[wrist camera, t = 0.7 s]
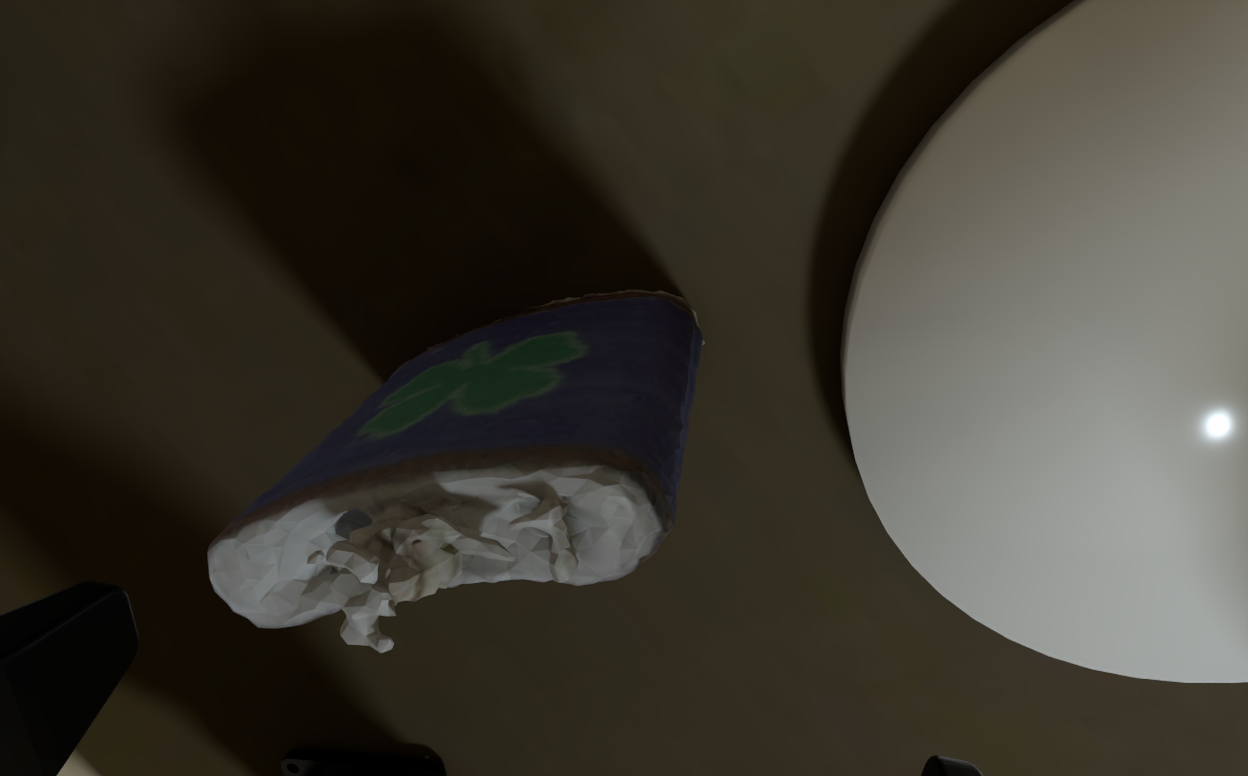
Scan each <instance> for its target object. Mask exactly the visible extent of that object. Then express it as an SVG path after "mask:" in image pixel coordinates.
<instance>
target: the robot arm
mask: <svg viewBox="0 0 1248 776" xmlns="http://www.w3.org/2000/svg"><path fill="white" fill-rule="evenodd" d="M138 646H139V636H138V632H137V628H136V624H135V621H134V617H133V613H132V609H131V605H130V601H129V597H128V595H127V593H126V591H125V590H124V589H123V588H122V587H119V586H116V585H111V584H106V583H102V582H97V581H85V582H81V583H78V584H75V585H73V586H70V587H68V588H66V589H63V590H61V591H58V592H56V593H53V594H51V595H48V596H46V597H43V598H41V599H39V600H36V601H34V602H31V603H29V604H26V605H24V606H21V607H19V608H16V609H14V610H12V611H9V612H7V613H4V614H2V615H0V776H56V775H57V774H58V773H59V771H60V770H61V768H62V767H63V766H64V764H65V763H66V761H67V760H68V758H69V757H70V755H71V754H72V752H73V751H74V749H75V748H76V746H77V745H78V743H79V742H80V740H81V739H82V737H83V736H84V734H85V733H86V731H87V730H88V728H89V727H90V725H91V724H92V722H93V720H94V719H95V717H96V716H97V714H98V713H99V711H100V710H101V708H102V707H103V705H104V704H105V702H106V701H107V699H108V698H109V696H110V695H111V693H112V692H113V690H114V689H115V687H116V686H117V684H118V683H119V681H120V680H121V678H122V677H123V675H124V674H125V672H126V671H127V669H128V668H129V666H130V665H131V663H132V662H133V660H134V658H135V655H136V653H137V650H138ZM281 769H282V771H283V774H284V776H446V772H445V770H444V768H443V767H442V766H441V765H440V764H438V763H436V762H434V761H427V760H414V759H401V758H389V757H376V756H364V755H351V754H338V753H326V752H313V751H300V750H291V751H289V752H288V753H287V754H286V756H285V757H284V759H283V760H282V762H281ZM921 776H983V775H982V773H981V772H980V771H979V770H978V768H976V767H975V766H974V765H973V764H971V763H969V762H967V761H962V760H958V759H953V758H948V757H943V756H938V755H936V756H932V757H930V758H929V759H928V761H927V762H926V764H925V766H924V769H923V771H922V774H921Z"/></svg>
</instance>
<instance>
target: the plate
mask: <svg viewBox="0 0 1248 776" xmlns="http://www.w3.org/2000/svg"><path fill="white" fill-rule="evenodd" d="M840 367H841V391H842V399H843V404H844V410H845V415H846V420H847V425H848V430H849V435H850V439H851V444H852V448H853V452H854V456H855V461H856V463H857V466H858V469H859V472H860V475H861V477H862V480H863V483H864V486H865V489H866V491H867V494H868V497H869V499H870V501H871V503H872V505H873V507H874V509H875V511H876V512H877V514H878V516H879V518H880V520H881V522H882V523H883V525H884V527H885V529H886V531H887V533H888V534H889V536H890V537H891V538H892V540H893V541H894V542H895V544H896V545H897V546H898V548H899V549H900V550H901V552H902V553H903V554H904V556H905V557H906V558H907V560H908V561H909V562H910V564H911V565H912V566H913V567H914V568H915V569H916V570H917V571H918V572H919V573H920V574H921V575H922V576H923V577H924V578H925V579H926V580H927V581H928V582H929V583H930V584H931V585H932V586H933V587H934V588H935V589H936V590H937V591H938V592H939V593H940V594H941V595H943V596H944V597H945V598H947V599H948V600H949V601H951V602H952V603H953V604H955V605H956V606H957V607H959V608H960V609H961V610H962V611H964V612H965V613H966V614H968V615H969V616H970V617H972V618H973V619H975V620H977V621H978V622H980V623H982V624H984V625H985V626H987V627H989V628H991V629H992V630H994V631H996V632H998V633H999V634H1001V635H1003V636H1004V637H1006V638H1008V639H1010V640H1012V641H1015V642H1017V643H1019V644H1022V645H1024V646H1026V647H1029V648H1031V649H1033V650H1036V651H1038V652H1040V653H1043V654H1045V655H1047V656H1050V657H1053V658H1057V659H1060V660H1063V661H1067V662H1070V663H1073V664H1076V665H1080V666H1083V667H1086V668H1090V669H1094V670H1099V671H1104V672H1109V673H1114V674H1120V675H1125V676H1130V677H1135V678H1143V679H1154V680H1164V681H1174V682H1185V683H1239V682H1248V0H1074V1H1072V2H1071V3H1069V4H1068V5H1067V6H1065V7H1064V8H1062V9H1061V10H1060V11H1058V12H1057V13H1055V14H1054V15H1053V16H1051V17H1050V18H1048V19H1047V20H1046V21H1044V22H1043V23H1041V24H1040V25H1039V26H1037V27H1036V28H1034V29H1033V30H1031V31H1030V32H1029V33H1027V34H1026V35H1024V36H1023V37H1022V38H1020V39H1019V40H1018V41H1017V42H1016V43H1014V44H1013V45H1012V46H1011V47H1010V48H1009V49H1008V50H1007V51H1005V52H1004V53H1003V54H1002V55H1001V56H1000V57H999V58H998V59H997V60H995V61H994V62H993V63H992V64H991V65H990V66H989V67H988V68H986V69H985V70H984V71H983V72H982V73H981V74H980V75H979V76H977V77H976V78H975V79H974V80H973V81H972V82H971V83H970V84H969V85H968V86H967V87H966V89H965V90H964V91H963V92H962V93H961V94H960V95H959V96H958V97H957V99H956V100H955V101H954V102H953V103H952V104H951V105H950V106H949V107H948V109H947V110H946V111H945V112H944V113H943V114H942V115H941V116H940V117H939V119H938V120H937V121H936V122H935V123H934V124H933V125H932V126H931V128H930V129H929V131H928V132H927V133H926V135H925V136H924V138H923V139H922V140H921V142H920V143H919V145H918V146H917V148H916V149H915V150H914V152H913V153H912V155H911V156H910V157H909V159H908V160H907V162H906V163H905V164H904V166H903V167H902V169H901V170H900V171H899V173H898V175H897V177H896V179H895V180H894V182H893V184H892V186H891V188H890V190H889V191H888V193H887V195H886V197H885V199H884V201H883V202H882V204H881V206H880V208H879V210H878V212H877V213H876V215H875V217H874V219H873V222H872V224H871V227H870V229H869V232H868V234H867V237H866V239H865V242H864V245H863V247H862V250H861V252H860V255H859V257H858V260H857V262H856V265H855V269H854V273H853V277H852V281H851V285H850V289H849V293H848V298H847V302H846V306H845V310H844V319H843V329H842V338H841V348H840Z"/></svg>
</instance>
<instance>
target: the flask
mask: <svg viewBox="0 0 1248 776" xmlns="http://www.w3.org/2000/svg"><path fill="white" fill-rule="evenodd" d="M501 318H502V317H501ZM698 327H700V326H699V324H698V321H697V316H696V313H695V312H694V311H693V310H692V309H691V308H690V307H689V305H688V304H687V303H686V301H685V300H684V299H683V298H682V297H678V296H675V295H672V294H670V293H667V292H663V291H660V290H659V291H656V292H649V291H645V290H626V291H618V292H613V293H609V294H608V293H605V294H600V293H598V294H594V293H592V294H587V295H585V294H584V296H583V297H582V298H580V297H578V298H571V297H567V298H566V299H564V300H560V299H559V300H552V301H551V302H550V303H548V304H545V305H541V306H531V307H530V308H525V309H524V310H522V311H521V312H520V313H516V314H515V315H511V316H510V317H506V318H502V319H499V320H497V321H494V322H491V323H490V324H486V325H484V326H480V327H479V328H474V329H471V331H470V332H468V333H464V334H460V335H459V336H458V334H457V335H455V336H454V337H452V338H448V339H447V340H445V341H443V343H440V344H436V345H434V346H432V347H431V348H429V347H428V348H427V350H426V351H423V352H421V353H420V354H419V355H418V356H416V357H414V358H412V359H410V360H409V361H407V362H405V363H404V364H403V365H402V366H400V367H399V368H398V369H397V370H396V371H395V372H394V373H393V374H392V375H391V376H390V378H389V379H388V381H387V382H386V383H385V384H383V385H382V386H381V387H380V388H379V389H378V390H376V391H375V392H374V393H373V394H372V395H370V396H369V397H368V398H367V399H366V400H365V401H364V402H363V403H362V404H361V405H360V406H359V407H358V408H357V409H356V410H355V411H354V413H353V414H352V415H351V416H350V417H348V418H347V419H346V420H345V421H344V422H343V423H342V424H341V425H340V426H338V427H337V428H336V429H335V430H333V431H331V432H330V433H329V434H328V435H327V436H326V438H325V439H324V440H323V441H322V442H321V443H320V444H319V445H318V446H317V447H315V448H314V449H313V450H312V451H311V452H310V453H308V454H307V455H306V456H305V457H304V458H302V459H301V460H300V461H299V462H298V463H297V464H296V465H295V466H294V467H293V468H292V469H291V470H290V471H289V472H288V473H287V474H286V475H285V476H284V477H283V478H282V479H281V480H280V481H279V482H277V483H276V484H275V485H274V486H273V487H272V488H271V489H269V490H268V491H267V492H265V493H264V494H262V495H261V496H259V497H258V498H257V499H256V500H255V501H254V502H253V503H252V504H251V505H250V506H249V507H248V508H247V509H246V510H245V512H243V513H242V514H241V515H240V516H238V517H237V518H236V519H234V520H233V521H232V522H231V523H229V524H228V525H227V527H226V528H225V529H224V530H223V531H222V532H221V533H220V534H219V535H218V536H217V537H216V538H215V539H214V541H213V542H212V543H211V544H210V545H209V548H208V553H207V558H208V568H209V576H210V580H211V583H212V586H213V588H214V591H215V592H216V593H217V594H218V595H219V596H220V597H221V598H222V599H223V600H224V601H225V602H226V603H227V604H228V605H229V606H230V608H231V609H232V610H233V612H235V613H237V614H239V615H242V616H244V617H246V618H248V619H249V620H250V621H251V622H252V623H253V624H254V625H256V626H257V627H258V628H283V627H291V626H297V625H303V624H305V623H308V622H310V621H313V620H315V619H318V618H320V617H323V616H325V615H329V614H333V613H335V612H337V611H339V610H341V609H342V610H343V611H344V612H345V613H346V616H347V618H346V619H345V621H344V623H343V625H342V626H341V628H340V635H341V636H342V638H343V639H344V640H345V642H346V643H347V644H351V645H368V646H371V647H372V648H374V649H375V650H377V651H378V652H380V653H383V652H386V651H388V650H391V649H392V648H393V645H394V642H393V640H392V638H390V637H387V636H384V635H381V633H380V631H379V628H378V616H379V615H382V616H396V614H395V605H396V604H397V602H400V601H405V600H406V601H416V600H418V599H420V598H422V597H424V596H428V595H431V594H435V592H436V591H437V589H438V588H447V587H455V586H457V585H460V584H470V583H478V582H492V583H495V582H498V581H502V580H514V579H527V580H533V581H539V582H547V581H549V580H554V581H556V582H560V583H567V584H572V585H575V586H580V585H586V584H592V583H596V582H601V581H609V580H617V579H619V578H621V577H623V576H625V575H627V574H629V573H631V572H633V571H635V570H636V569H637V567H638V565H639V564H640V563H641V562H643V561H645V560H647V559H649V558H650V557H651V556H652V555H654V554H655V553H656V552H657V550H658V548H659V547H660V545H661V543H662V542H663V540H664V538H665V537H666V536H667V535H668V534H669V533H670V532H671V530H672V529H673V528H674V526H675V517H674V513H675V511H676V490H677V488H678V485H679V481H680V477H681V473H682V464H683V454H684V446H685V444H686V439H687V433H688V416H689V413H690V410H691V406H692V402H693V397H694V394H695V378H696V375H697V370H698V364H699V358H700V353H701V347H702V345H704V344H705V342H704V341H703V340H702V334H701V332H700V330H699V328H698Z"/></svg>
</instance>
